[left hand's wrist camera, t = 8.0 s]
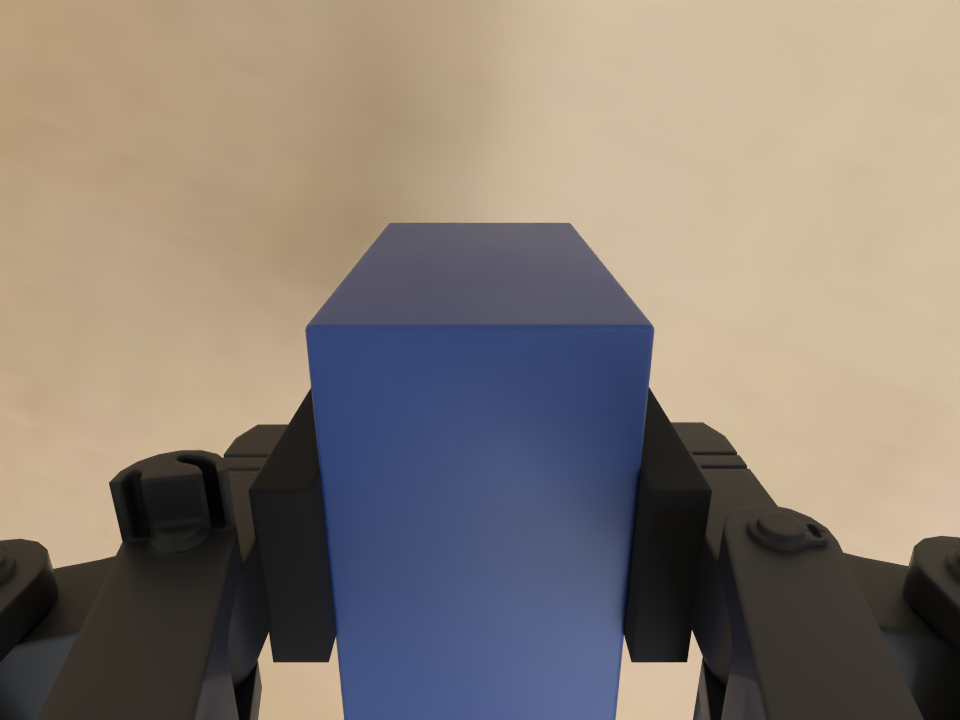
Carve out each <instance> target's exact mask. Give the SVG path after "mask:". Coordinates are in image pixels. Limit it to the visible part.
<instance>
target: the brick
mask: <svg viewBox="0 0 960 720" xmlns="http://www.w3.org/2000/svg"><path fill="white" fill-rule="evenodd" d="M653 338H654V327H653V325H652V324H651V323H650V322H649V320H648V319H647V318H646V317H645V315H644V314H643V313H642V312H641V310H640V309H639V308H638V307H637V305H636V304H635V303H634V302H633V300H632V299H631V298H630V297H629V296H628V294H627V293H626V292H625V291H624V289H623V288H622V287H621V286H620V284H619V283H618V282H617V281H616V279H615V278H614V277H613V276H612V274H611V273H610V272H609V271H608V270H607V268H606V267H605V266H604V265H603V263H602V262H601V261H600V260H599V258H598V257H597V256H596V255H595V253H594V252H593V251H592V250H591V248H590V247H589V246H588V245H587V243H586V242H585V241H584V240H583V239H582V237H581V236H580V235H579V234H578V232H577V231H576V230H575V229H574V227H573V226H572V225H571V224H570V223H390V224H389V225H388V226H387V227H386V228H385V230H384V231H383V232H382V233H381V235H380V236H379V237H378V238H377V240H376V241H375V242H374V243H373V245H372V246H371V247H370V248H369V249H368V251H367V252H366V253H365V254H364V256H363V257H362V258H361V259H360V261H359V262H358V263H357V264H356V266H355V267H354V268H353V269H352V271H351V272H350V273H349V274H348V275H347V277H346V278H345V279H344V280H343V282H342V283H341V284H340V285H339V287H338V288H337V289H336V290H335V292H334V293H333V294H332V295H331V297H330V298H329V299H328V300H327V301H326V303H325V304H324V305H323V306H322V308H321V309H320V310H319V311H318V313H317V314H316V315H315V316H314V318H313V319H312V320H311V321H310V323H309V324H308V325H307V327H306V340H307V350H308V360H309V370H310V380H311V390H312V400H313V410H314V420H315V430H316V440H317V450H318V460H319V468H320V476H321V486H322V496H323V506H324V516H325V526H326V536H327V547H328V557H329V567H330V577H331V587H332V597H333V607H334V617H335V627H336V641H337V651H338V661H339V671H340V681H341V691H342V701H343V711H344V720H615V719H616V709H617V699H618V689H619V679H620V669H621V659H622V649H623V639H624V627H625V617H626V607H627V597H628V587H629V577H630V567H631V557H632V547H633V537H634V526H635V516H636V506H637V496H638V486H639V476H640V468H641V458H642V448H643V438H644V428H645V418H646V408H647V398H648V388H649V378H650V368H651V358H652V348H653Z"/></svg>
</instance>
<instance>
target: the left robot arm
mask: <svg viewBox="0 0 960 720" xmlns="http://www.w3.org/2000/svg"><path fill="white" fill-rule="evenodd" d="M109 485H110V489H111V494H112V498H113V502H114V507H115V511H116V515H117V519H118V524H119V528H120V532H121V537H122V541H123V542H122V544H121V546H120V548H119V551H118V553H117V555H116V556H114V557H110V558H106V559H102V560H97V561H92V562H87V563H82V564H77V565H72V566H66V567H61V568H56V569H53V568H52V565H51V561H50V558H49V554H48V550H47V549H46V548H45V547H44V546H42V545H41V544H40V543H38V542H36V541H30V540H24V539H14V540H3V541H0V720H258V715H259V707H260V698H261V690H262V686H261V679H260V672H259V665H258V657H259V655H260V652H261V650H262V647H263V645H264V642H265V640H266V638H267V635H268V633H269V635H270V642H271V649H272V656H273V662H329V659H330V656H331V652H332V648H333V645H334V641H335V637H336V627H335V617H334V607H333V597H332V587H331V577H330V567H329V557H328V547H327V536H326V526H325V516H324V506H323V496H322V486H321V476H320V468H319V460H318V450H317V440H316V430H315V420H314V410H313V400H312V390H311V389H310V390H309V392H308V394H307V395H306V397H305V399H304V400H303V402H302V404H301V405H300V407H299V408H298V410H297V412H296V413H295V415H294V417H293V418H292V420H291V422H290V423H289V425H257V426H255V427H253V428H252V429H250V430H249V431H247V432H245V433H244V434H242V435H241V436H239V437H237V438H236V439H235V440H234V442H233V443H232V444H231V446H230V447H229V448H228V450H227V451H226V452H225V454H224V458H222V457H220V456H219V455H218V454H215V453H211V452H206V451H202V450H181V451H175V452H170V453H164V454H159V455H156V456H153V457H150V458H147V459H144V460H141V461H138V462H136V463H134V464H133V465H131V466H129V467H127V468H126V469H124V470H122V471H120V472H119V473H118V474H117V475H116V476H115V477H114V478H113V479H112V480H111V481H110V482H109ZM691 631H693V633H694V636H695V638H696V640H697V643H698V645H699V648H700V650H701V653H702V655H703V659H702V665H701V672H700V678H699V685H698V691H697V697H696V704H695V710H694V717H693V720H960V538H958V537H947V536H938V537H932V538H926V539H923V540H922V541H920V542H919V543H918V544H917V545H915V546H914V549H913V552H912V556H911V560H910V563H909V566H904V565H899V564H894V563H889V562H883V561H878V560H873V559H868V558H863V557H858V556H854V555H850V554H846V553H843V551H842V549H841V547H840V545H839V543H838V541H837V540H836V539H835V537H834V536H833V535H832V534H831V532H830V531H829V530H828V529H827V528H826V527H824V526H823V525H821V524H820V523H818V522H817V521H815V520H814V519H812V518H811V517H808V516H806V515H804V514H801V513H799V512H796V511H794V510H791V509H787V508H782V507H778V506H777V505H776V503H775V502H774V501H773V499H772V498H771V497H770V495H769V494H768V493H767V492H766V490H765V489H764V488H763V486H762V485H761V484H760V482H759V481H758V480H757V478H756V477H755V476H754V474H753V473H752V472H751V470H750V469H747V465H746V464H745V462H744V461H743V460H742V458H741V457H740V456H739V455H737V452H736V450H735V449H734V448H733V446H732V445H731V444H730V442H729V441H728V440H727V438H726V437H725V436H724V435H722V434H720V433H719V432H717V431H716V430H714V429H712V428H711V427H709V426H708V425H706V424H704V423H671V422H670V421H669V419H668V417H667V416H666V414H665V413H664V411H663V409H662V408H661V406H660V404H659V403H658V401H657V399H656V398H655V396H654V395H653V393H652V391H651V390H650V388H648V398H647V408H646V418H645V428H644V438H643V448H642V458H641V468H640V476H639V486H638V496H637V506H636V516H635V526H634V537H633V547H632V557H631V567H630V577H629V587H628V597H627V607H626V617H625V627H624V636H625V639H626V643H627V647H628V650H629V654H630V658H631V661H632V662H687V659H688V652H689V645H690V638H691Z"/></svg>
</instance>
